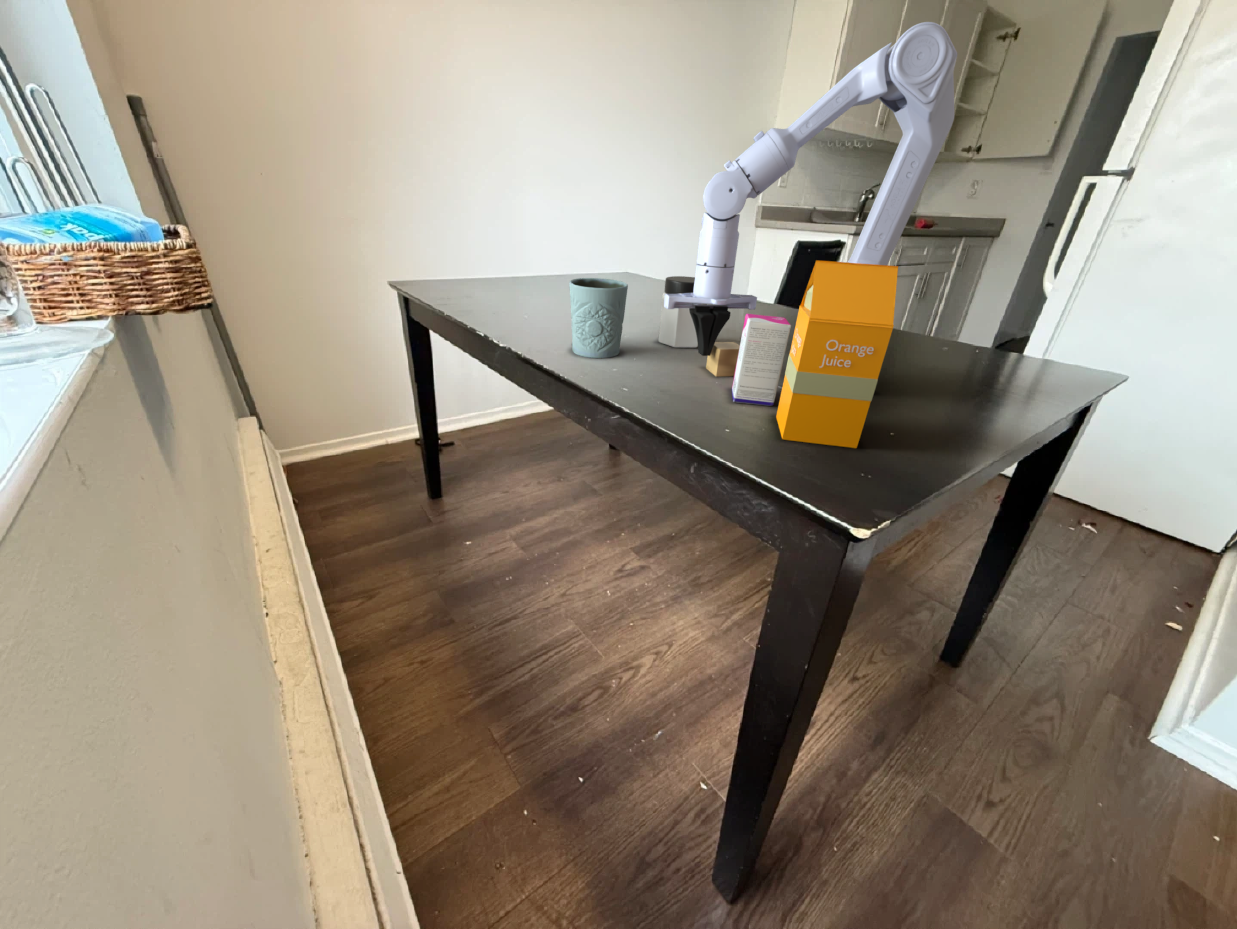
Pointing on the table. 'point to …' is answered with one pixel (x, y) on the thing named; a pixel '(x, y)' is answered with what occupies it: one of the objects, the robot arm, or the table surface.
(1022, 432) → the table surface
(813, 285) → the orange juice
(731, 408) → the table surface
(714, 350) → the maple block
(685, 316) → the jar
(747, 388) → the supplement box
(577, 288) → the drinking glass
